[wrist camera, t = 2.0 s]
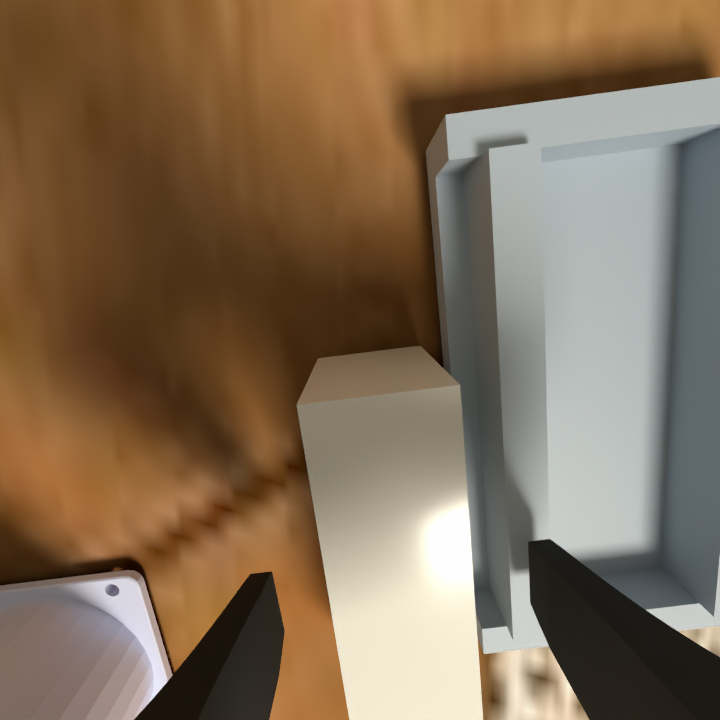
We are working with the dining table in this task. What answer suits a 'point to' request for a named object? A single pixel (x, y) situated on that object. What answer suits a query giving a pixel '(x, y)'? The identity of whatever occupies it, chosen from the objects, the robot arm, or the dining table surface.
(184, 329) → the dining table surface
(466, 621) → the clay bar
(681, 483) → the tray
